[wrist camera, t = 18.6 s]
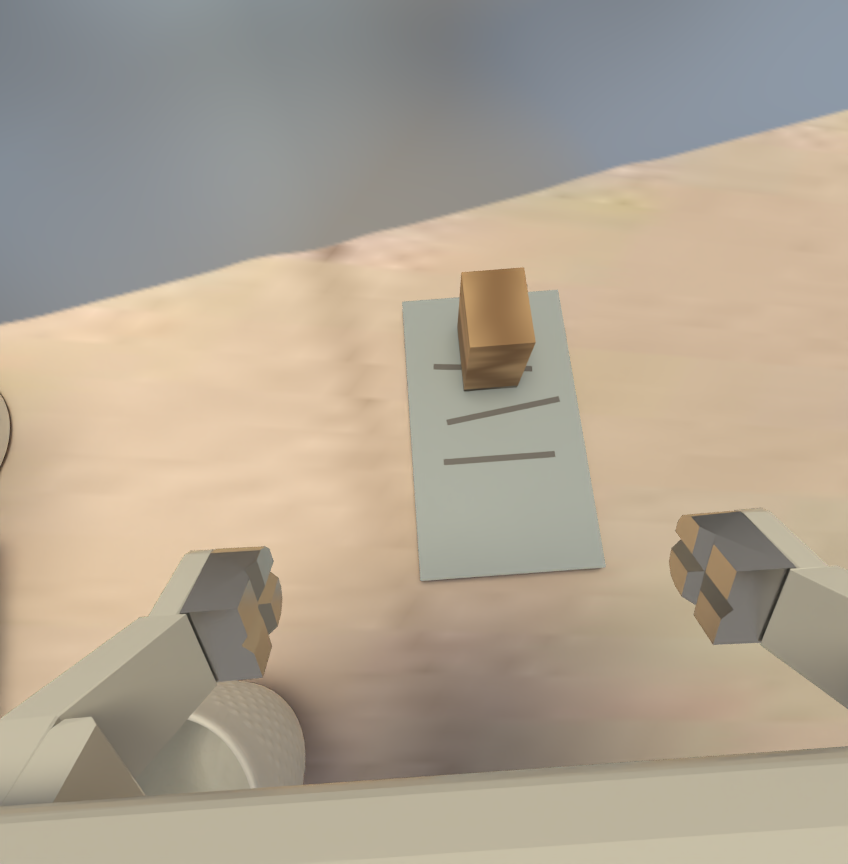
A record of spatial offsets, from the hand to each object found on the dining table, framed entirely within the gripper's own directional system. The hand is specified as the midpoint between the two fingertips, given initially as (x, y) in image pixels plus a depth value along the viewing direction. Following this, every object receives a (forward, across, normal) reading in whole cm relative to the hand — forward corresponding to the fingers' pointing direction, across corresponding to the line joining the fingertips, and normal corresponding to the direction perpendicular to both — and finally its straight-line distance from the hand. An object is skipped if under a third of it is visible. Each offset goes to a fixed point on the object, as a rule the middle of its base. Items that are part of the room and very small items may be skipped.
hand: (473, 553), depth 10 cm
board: (+29, +5, -13) cm, 32 cm away
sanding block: (+32, +5, -8) cm, 33 cm away
